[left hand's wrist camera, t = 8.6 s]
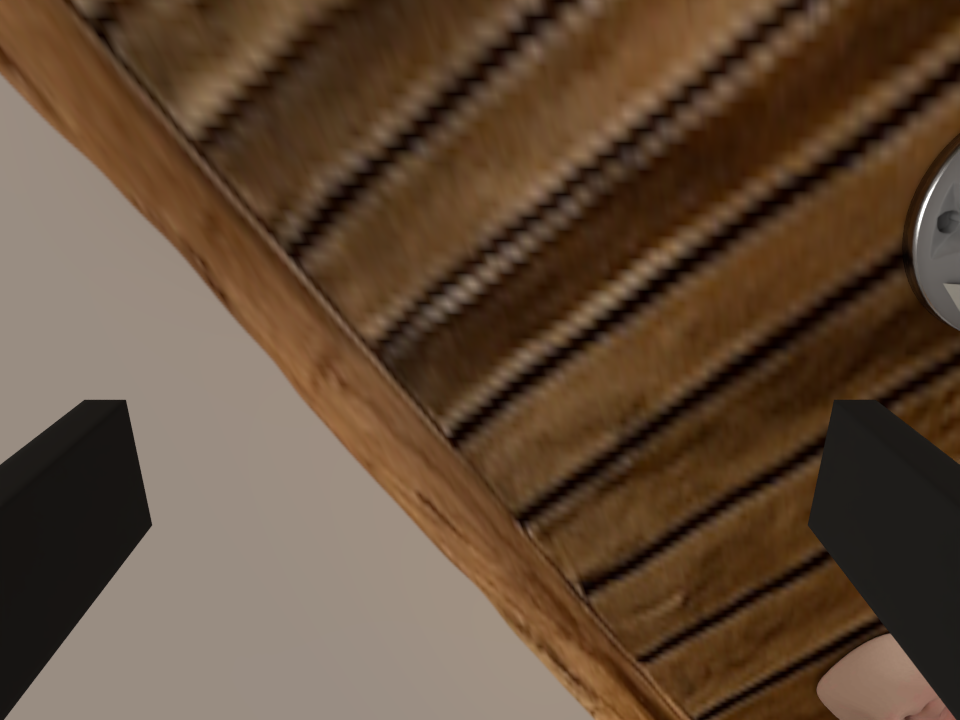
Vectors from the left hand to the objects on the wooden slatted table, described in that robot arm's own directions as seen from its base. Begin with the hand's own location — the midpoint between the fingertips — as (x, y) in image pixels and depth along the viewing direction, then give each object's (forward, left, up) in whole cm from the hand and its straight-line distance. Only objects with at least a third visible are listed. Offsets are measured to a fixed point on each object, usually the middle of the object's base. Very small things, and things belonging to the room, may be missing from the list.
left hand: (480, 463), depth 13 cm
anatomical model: (0, +53, -32) cm, 61 cm away
